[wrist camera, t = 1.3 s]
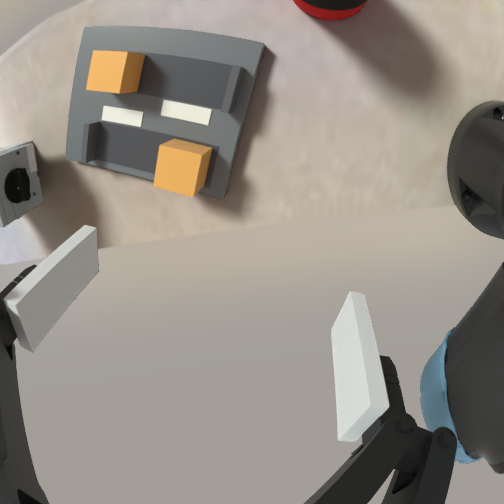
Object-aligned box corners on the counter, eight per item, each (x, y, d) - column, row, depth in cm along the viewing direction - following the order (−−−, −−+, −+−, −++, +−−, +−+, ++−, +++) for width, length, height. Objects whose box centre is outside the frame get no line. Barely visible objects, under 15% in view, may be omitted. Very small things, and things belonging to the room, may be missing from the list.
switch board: (265, 45, 25) (260, 39, 22) (225, 194, 33) (217, 206, 30) (92, 28, 25) (73, 25, 22) (72, 155, 33) (55, 163, 30)
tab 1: (145, 54, 25) (127, 51, 22) (137, 92, 27) (119, 93, 24) (112, 52, 25) (93, 50, 22) (105, 88, 27) (85, 89, 24)
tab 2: (212, 147, 29) (201, 155, 26) (204, 186, 31) (193, 197, 28) (174, 138, 29) (159, 144, 26) (167, 176, 31) (153, 186, 28)
